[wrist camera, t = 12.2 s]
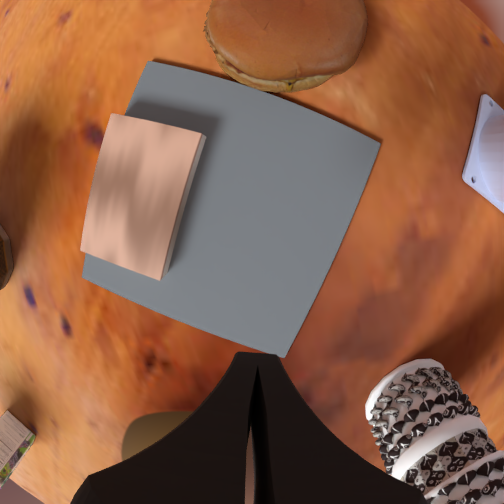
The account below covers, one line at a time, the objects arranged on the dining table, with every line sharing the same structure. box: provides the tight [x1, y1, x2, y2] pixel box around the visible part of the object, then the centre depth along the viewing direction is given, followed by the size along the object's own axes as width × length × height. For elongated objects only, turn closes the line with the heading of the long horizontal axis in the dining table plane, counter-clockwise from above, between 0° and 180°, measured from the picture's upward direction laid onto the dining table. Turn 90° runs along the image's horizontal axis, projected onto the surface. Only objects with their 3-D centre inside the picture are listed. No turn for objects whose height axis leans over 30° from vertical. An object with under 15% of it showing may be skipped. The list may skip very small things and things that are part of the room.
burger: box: [204, 0, 368, 93], centre depth 13 cm, size 10×9×5 cm
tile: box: [80, 113, 206, 281], centre depth 17 cm, size 9×2×6 cm
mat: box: [82, 61, 381, 358], centre depth 18 cm, size 16×16×1 cm
